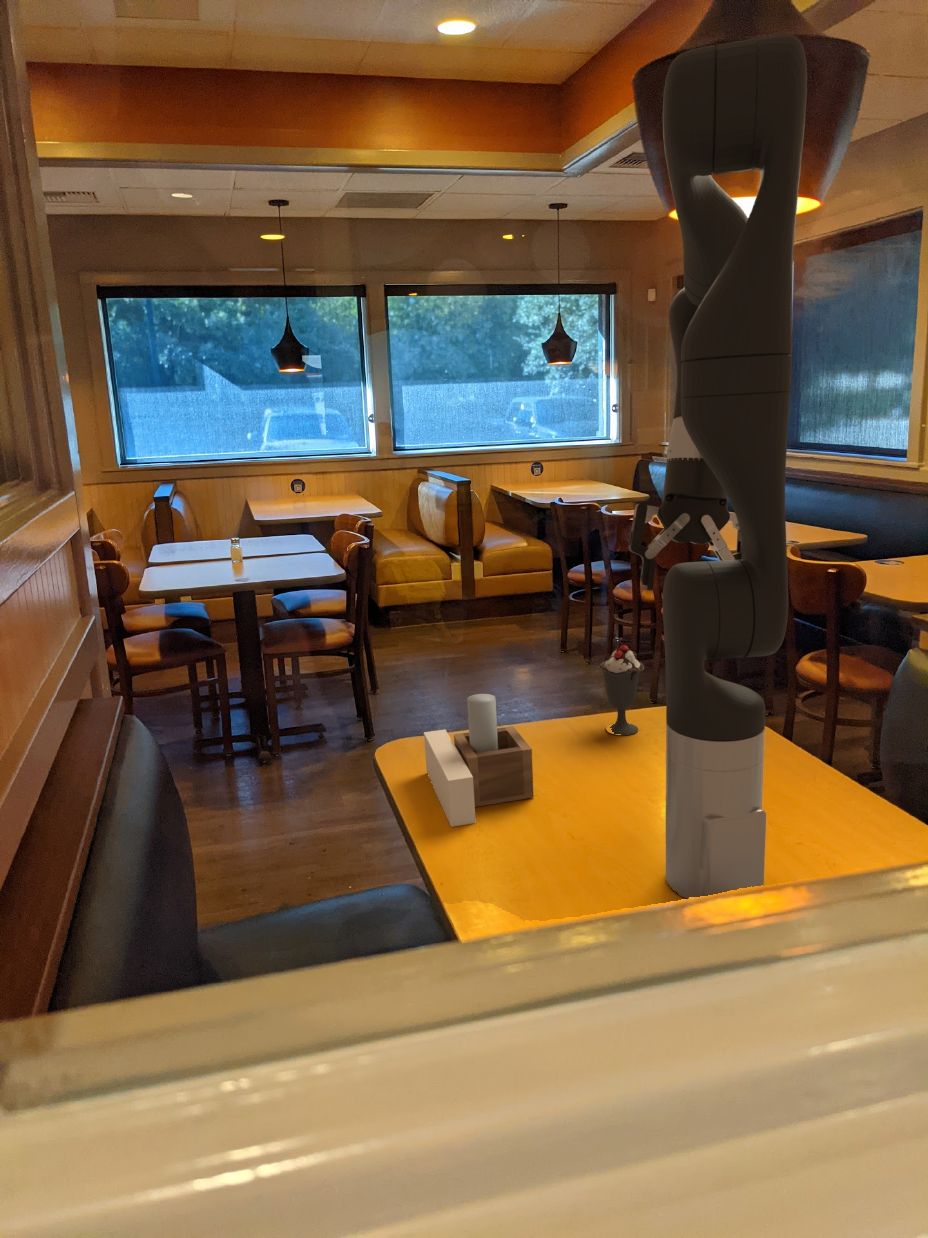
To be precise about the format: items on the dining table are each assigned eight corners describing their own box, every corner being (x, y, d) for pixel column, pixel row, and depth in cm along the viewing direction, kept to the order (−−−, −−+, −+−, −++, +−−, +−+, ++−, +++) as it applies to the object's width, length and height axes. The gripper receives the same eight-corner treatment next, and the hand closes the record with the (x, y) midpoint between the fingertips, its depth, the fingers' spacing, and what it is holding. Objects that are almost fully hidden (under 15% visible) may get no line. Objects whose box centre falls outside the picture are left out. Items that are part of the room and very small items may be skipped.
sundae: (614, 741, 121) (613, 643, 118) (591, 726, 127) (589, 632, 124) (653, 733, 124) (653, 636, 120) (628, 718, 130) (627, 626, 126)
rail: (475, 823, 100) (473, 777, 98) (451, 827, 99) (448, 780, 98) (447, 769, 115) (445, 729, 114) (426, 773, 114) (423, 732, 113)
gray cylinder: (503, 789, 107) (498, 701, 104) (475, 793, 106) (470, 705, 103) (495, 778, 110) (491, 692, 107) (469, 782, 109) (464, 695, 106)
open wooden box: (533, 797, 105) (531, 749, 104) (470, 807, 104) (467, 758, 102) (515, 771, 113) (513, 726, 111) (456, 780, 111) (453, 734, 110)
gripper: (643, 451, 96) (628, 590, 98) (768, 460, 95) (751, 601, 97) (635, 457, 104) (621, 586, 105) (751, 466, 103) (736, 597, 104)
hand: (684, 593), depth 101 cm, fingers open, 8 cm apart
